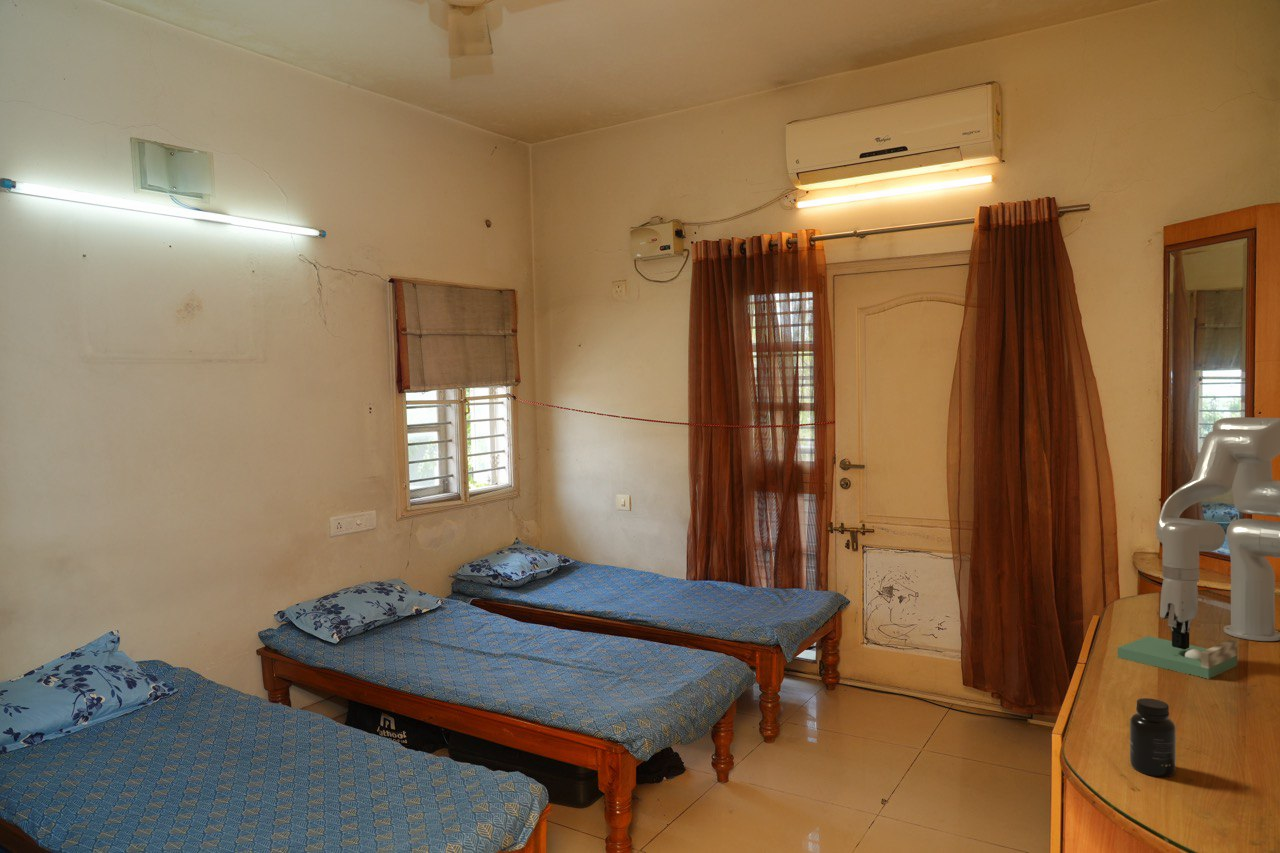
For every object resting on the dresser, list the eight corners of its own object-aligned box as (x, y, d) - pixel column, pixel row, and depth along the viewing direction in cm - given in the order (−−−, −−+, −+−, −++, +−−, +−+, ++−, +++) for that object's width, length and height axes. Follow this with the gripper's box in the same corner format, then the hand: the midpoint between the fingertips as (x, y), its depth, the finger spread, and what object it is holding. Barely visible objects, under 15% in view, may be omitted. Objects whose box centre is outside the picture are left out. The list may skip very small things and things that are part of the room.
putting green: (1148, 645, 211) (1148, 635, 211) (1237, 665, 195) (1237, 655, 195) (1117, 657, 202) (1117, 647, 202) (1208, 679, 186) (1208, 668, 186)
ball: (1202, 666, 196) (1185, 655, 199) (1210, 653, 194) (1193, 643, 197) (1196, 671, 194) (1179, 660, 197) (1203, 658, 192) (1186, 647, 195)
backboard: (1230, 653, 196) (1230, 639, 196) (1237, 655, 195) (1237, 640, 195) (1201, 666, 187) (1201, 652, 187) (1208, 668, 186) (1208, 653, 186)
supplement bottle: (1121, 761, 146) (1121, 696, 145) (1156, 759, 146) (1156, 694, 146) (1148, 779, 139) (1148, 711, 138) (1185, 777, 139) (1185, 708, 139)
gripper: (1177, 567, 204) (1177, 638, 205) (1149, 575, 196) (1149, 649, 197) (1211, 572, 198) (1211, 645, 199) (1183, 580, 190) (1183, 657, 190)
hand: (1180, 647), depth 198 cm, fingers closed
